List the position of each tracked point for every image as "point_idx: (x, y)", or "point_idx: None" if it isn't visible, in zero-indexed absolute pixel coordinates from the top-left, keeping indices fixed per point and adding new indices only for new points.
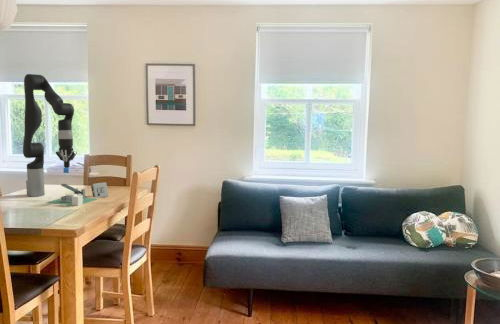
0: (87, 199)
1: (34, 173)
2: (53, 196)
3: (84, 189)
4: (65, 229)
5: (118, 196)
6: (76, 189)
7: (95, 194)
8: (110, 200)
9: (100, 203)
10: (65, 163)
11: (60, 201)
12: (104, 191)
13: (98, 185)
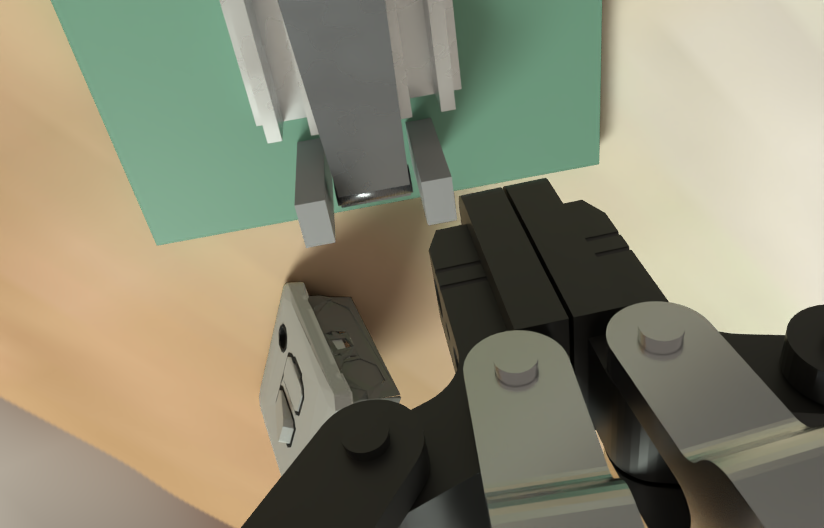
0: (240, 157)
1: None
2: (811, 138)
3: (303, 233)
4: None
5: (185, 439)
6: (314, 116)
7: (293, 314)
8: (73, 300)
9: (7, 146)
10: (541, 269)
11: None
12: (275, 413)
13: (310, 433)
